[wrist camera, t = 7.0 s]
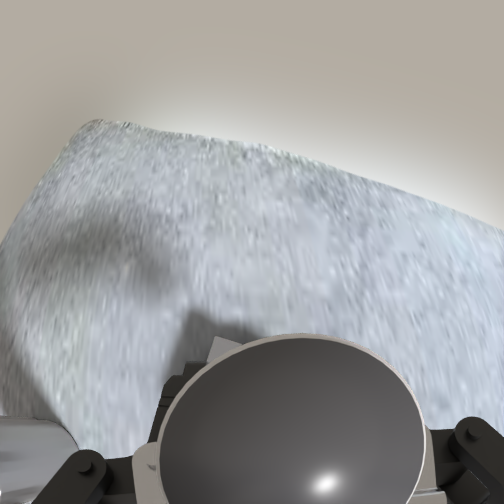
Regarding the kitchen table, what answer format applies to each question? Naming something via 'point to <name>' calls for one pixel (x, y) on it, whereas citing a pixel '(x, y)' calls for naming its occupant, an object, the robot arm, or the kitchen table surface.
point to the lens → (293, 428)
